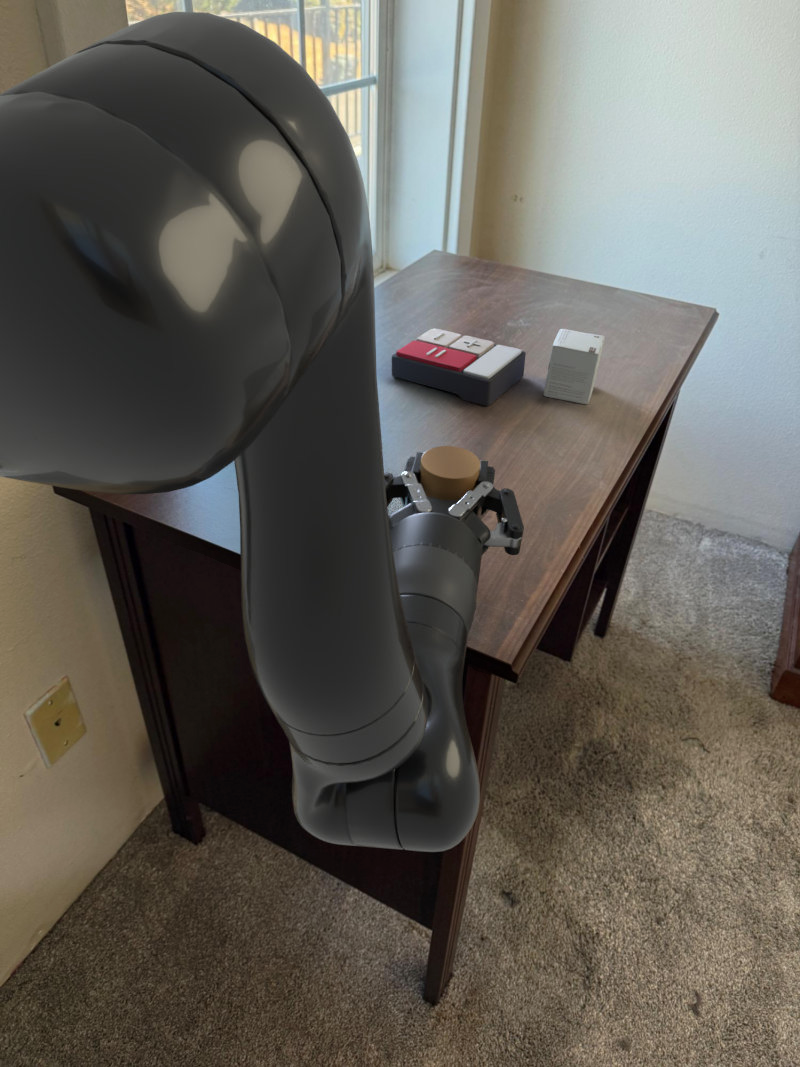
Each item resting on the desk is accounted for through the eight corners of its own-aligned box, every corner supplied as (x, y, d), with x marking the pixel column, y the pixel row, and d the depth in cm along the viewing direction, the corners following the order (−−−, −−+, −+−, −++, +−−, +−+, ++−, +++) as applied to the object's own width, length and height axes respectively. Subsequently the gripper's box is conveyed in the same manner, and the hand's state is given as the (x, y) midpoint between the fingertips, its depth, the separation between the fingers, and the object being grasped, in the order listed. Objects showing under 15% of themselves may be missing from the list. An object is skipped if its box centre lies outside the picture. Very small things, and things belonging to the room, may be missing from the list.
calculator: (431, 324, 107) (527, 346, 100) (431, 352, 110) (524, 375, 103) (390, 350, 100) (490, 376, 93) (390, 380, 102) (488, 407, 96)
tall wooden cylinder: (419, 570, 68) (427, 480, 62) (408, 535, 72) (415, 447, 66) (474, 565, 69) (487, 476, 63) (460, 531, 73) (471, 444, 67)
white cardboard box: (550, 377, 103) (559, 327, 99) (594, 385, 102) (605, 334, 97) (542, 397, 99) (551, 344, 94) (588, 405, 97) (600, 353, 93)
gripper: (531, 562, 52) (537, 438, 65) (330, 534, 53) (375, 418, 66) (516, 637, 56) (524, 507, 70) (331, 609, 58) (373, 487, 71)
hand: (451, 464), depth 68 cm, fingers closed on tall wooden cylinder, 5 cm apart
